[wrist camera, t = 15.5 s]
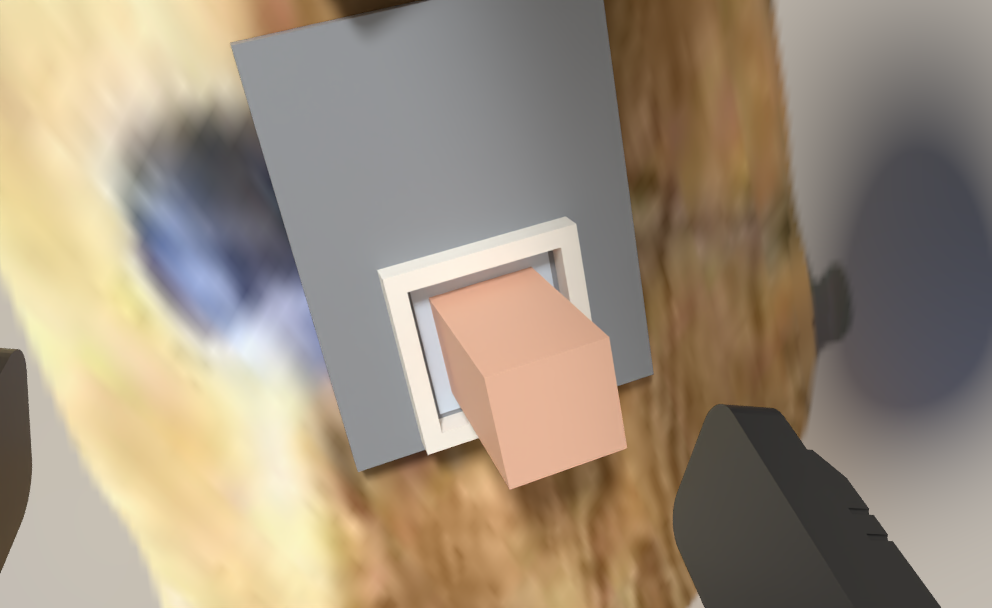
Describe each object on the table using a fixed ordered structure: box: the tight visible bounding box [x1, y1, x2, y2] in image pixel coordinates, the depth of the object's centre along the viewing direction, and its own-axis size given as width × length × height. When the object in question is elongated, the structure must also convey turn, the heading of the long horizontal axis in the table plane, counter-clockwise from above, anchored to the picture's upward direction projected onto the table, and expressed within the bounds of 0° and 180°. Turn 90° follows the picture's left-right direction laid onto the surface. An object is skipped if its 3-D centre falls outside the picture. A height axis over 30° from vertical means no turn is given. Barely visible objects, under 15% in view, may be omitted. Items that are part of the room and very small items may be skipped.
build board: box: [230, 0, 653, 472], centre depth 36 cm, size 18×14×2 cm
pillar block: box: [429, 267, 627, 489], centre depth 35 cm, size 4×4×8 cm
